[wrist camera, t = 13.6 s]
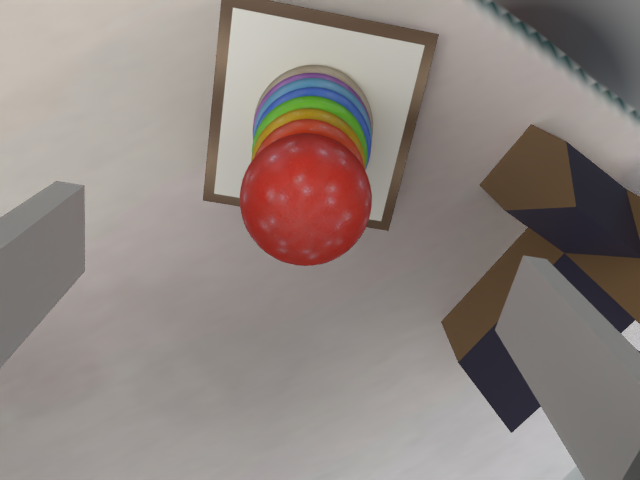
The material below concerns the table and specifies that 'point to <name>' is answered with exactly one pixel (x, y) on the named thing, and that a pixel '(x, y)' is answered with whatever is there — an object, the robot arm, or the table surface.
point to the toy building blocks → (548, 257)
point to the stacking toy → (309, 166)
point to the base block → (314, 49)
